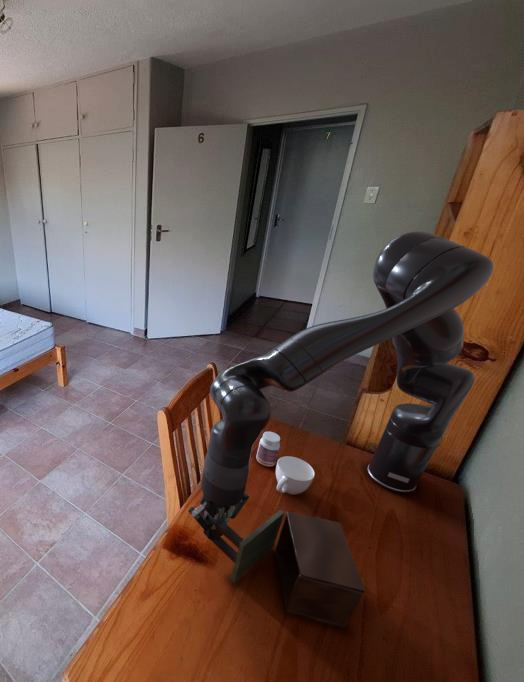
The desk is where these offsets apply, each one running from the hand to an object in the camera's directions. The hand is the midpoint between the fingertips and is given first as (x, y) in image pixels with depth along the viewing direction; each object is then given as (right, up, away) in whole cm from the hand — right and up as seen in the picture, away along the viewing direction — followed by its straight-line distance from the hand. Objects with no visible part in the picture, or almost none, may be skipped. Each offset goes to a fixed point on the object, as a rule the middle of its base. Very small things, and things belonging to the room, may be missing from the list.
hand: (213, 534), depth 74 cm
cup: (+24, +3, +15) cm, 28 cm away
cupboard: (+16, -7, -5) cm, 18 cm away
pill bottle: (+23, +7, +23) cm, 34 cm away
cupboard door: (+6, -4, +2) cm, 8 cm away
